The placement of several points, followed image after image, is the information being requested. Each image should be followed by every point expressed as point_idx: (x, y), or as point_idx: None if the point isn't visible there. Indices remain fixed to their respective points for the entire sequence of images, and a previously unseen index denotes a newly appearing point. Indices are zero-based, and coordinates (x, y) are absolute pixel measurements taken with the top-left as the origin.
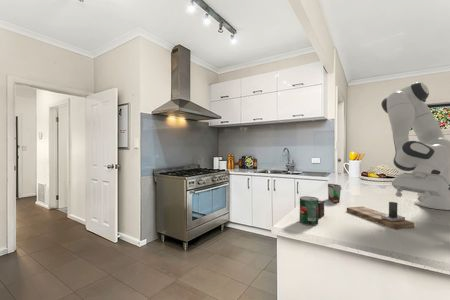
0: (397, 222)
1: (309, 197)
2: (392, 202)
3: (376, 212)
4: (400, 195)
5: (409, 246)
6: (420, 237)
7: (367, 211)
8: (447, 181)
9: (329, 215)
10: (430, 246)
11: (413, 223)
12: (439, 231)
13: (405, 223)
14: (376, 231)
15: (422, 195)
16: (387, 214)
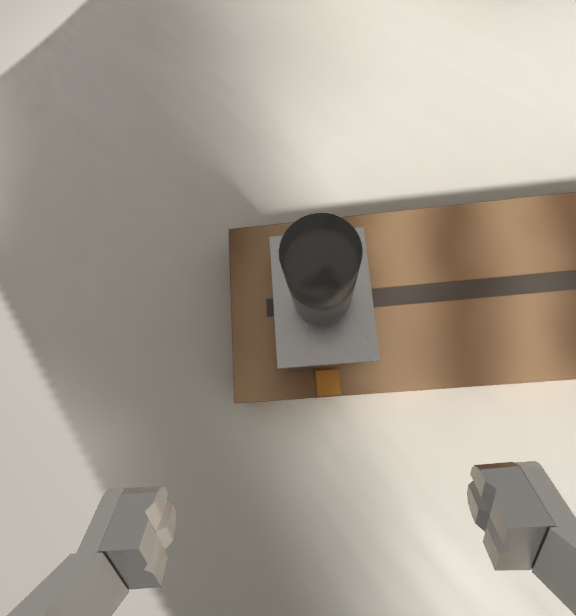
0: (262, 281)
1: None
2: (328, 250)
3: (528, 332)
4: (482, 515)
5: (53, 132)
6: (110, 278)
7: (559, 271)
8: None
9: (548, 27)
10: (23, 221)
11: (234, 395)
12: None
13: (233, 319)
14: (233, 120)
15: (83, 565)
16: (368, 287)
